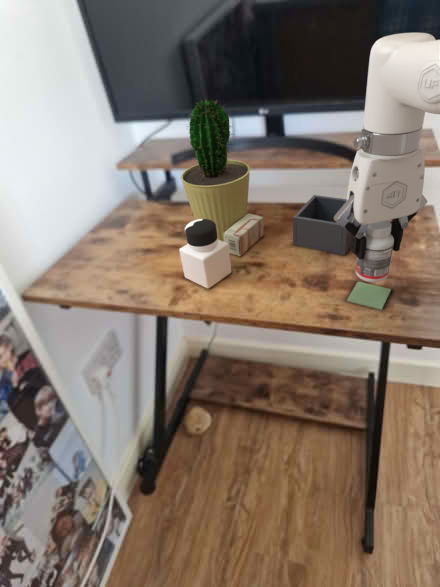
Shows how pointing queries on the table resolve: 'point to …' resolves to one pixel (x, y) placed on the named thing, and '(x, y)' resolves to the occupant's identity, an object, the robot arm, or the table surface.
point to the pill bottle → (376, 253)
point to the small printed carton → (244, 234)
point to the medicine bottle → (204, 254)
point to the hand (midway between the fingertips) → (374, 250)
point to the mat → (369, 295)
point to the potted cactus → (215, 170)
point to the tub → (321, 226)
